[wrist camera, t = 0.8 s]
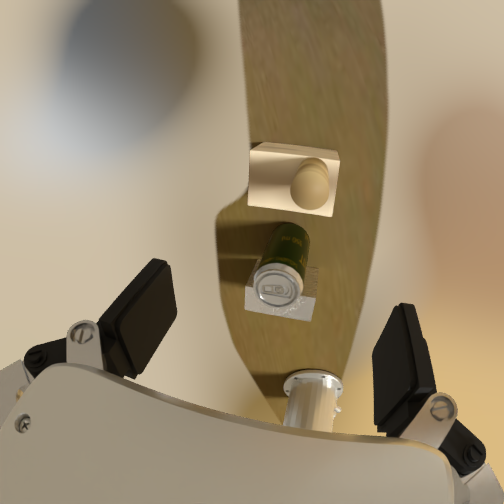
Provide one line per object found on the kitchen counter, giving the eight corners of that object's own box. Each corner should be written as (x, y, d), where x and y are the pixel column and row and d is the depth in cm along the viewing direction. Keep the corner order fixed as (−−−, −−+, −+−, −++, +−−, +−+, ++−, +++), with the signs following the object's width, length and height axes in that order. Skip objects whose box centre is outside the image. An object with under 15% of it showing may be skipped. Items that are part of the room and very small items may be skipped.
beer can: (272, 255, 41) (253, 308, 31) (270, 220, 39) (248, 266, 28) (310, 256, 40) (301, 312, 30) (310, 221, 37) (302, 269, 27)
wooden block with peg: (330, 196, 35) (332, 248, 23) (261, 187, 36) (227, 232, 24) (336, 150, 32) (344, 177, 20) (264, 142, 33) (227, 163, 21)
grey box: (314, 290, 42) (310, 321, 36) (256, 280, 44) (244, 309, 38) (318, 268, 40) (315, 298, 34) (257, 258, 42) (245, 286, 36)
